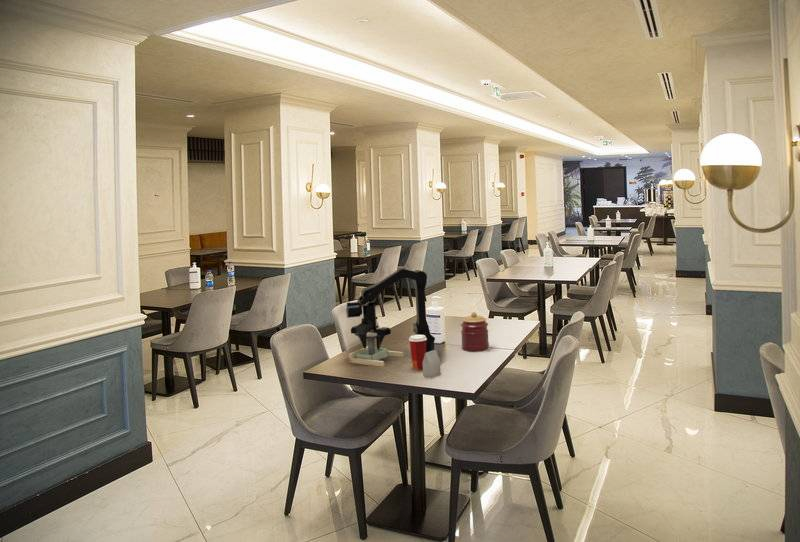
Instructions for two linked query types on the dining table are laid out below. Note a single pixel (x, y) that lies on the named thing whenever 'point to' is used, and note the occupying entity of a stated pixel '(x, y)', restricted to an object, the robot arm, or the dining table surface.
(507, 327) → the dining table surface
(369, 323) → the robot arm
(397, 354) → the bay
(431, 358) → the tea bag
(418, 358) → the paper cup
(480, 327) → the canister
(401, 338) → the dining table surface
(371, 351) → the green base with post
